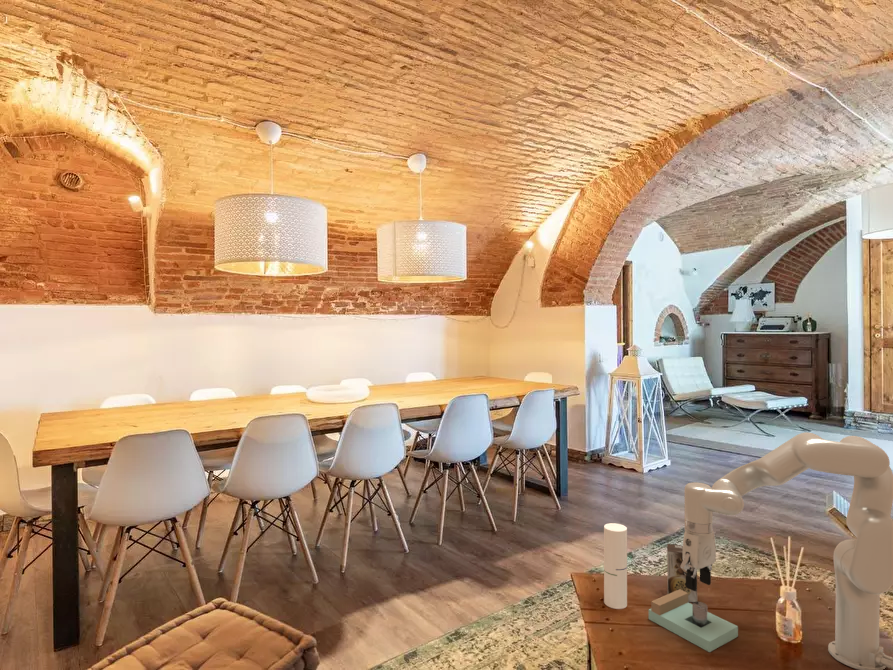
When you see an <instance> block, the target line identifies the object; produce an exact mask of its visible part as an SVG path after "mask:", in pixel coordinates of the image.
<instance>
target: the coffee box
mask: <svg viewBox="0 0 893 670" xmlns="http://www.w3.org/2000/svg"><path fill="white" fill-rule="evenodd" d="M666 558H667V560H666V564H667V577H666V578H667V594H670V593H672V592H674V591H676V590H679V589H680V590H683V591H685V592H687V593H688V603H693V602H698V590H697V591H693V590H691V589H688V588H686V575H685V574H684V572H683V570H682V569H681V567H680V566H681V564H682V562H683V544H682V545H679V544H672V543H667V545H666ZM690 565H692V563H690ZM690 570H691V571H692V570H693V568H691V567H690ZM695 577H696V578H697V579H698V570H697V571H696V575H695Z"/></svg>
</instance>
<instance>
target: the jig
mask: <svg viewBox="0 0 893 670" xmlns="http://www.w3.org/2000/svg"><path fill="white" fill-rule="evenodd" d="M650 604H651V607H650V608H649V609H648V620H649V621H651V622H653V623H654V624H656V625H659V626H660V627H662V628H664V629H666V630H668V631H670V632H671V633H673V634H675V635H677V636H679V637H680V638H682V639H684V640H687V641H688V642H689V643H692V644H693V645H695V646H697V647H699V648H701V649H702V650H704V651H706V652H708V653H711V652H713V651H715V650H716V649H717V648H720V647H722V646H723V645H726V644H727V643H729V642H731V641H733V640H734V639H736V638H737V637H739V626H738V625H736V624H734V623H732V622H730V621H728V620H726V619H723V618H721V617H720V616H717V615H716V614H714V613H711V612H709V611H707V625H706V626H704V627H702V628H700V627H698V626H697V625H695V624H693V623H692V614H693V603H691V602H689V601H688V593H687V592H685V591H683V590H680V589H679V590H676V591H674V592H672V593H670V594H668V593H667V594H665V595H663V596H660V597H659V598H655V599H654V600H651V603H650Z"/></svg>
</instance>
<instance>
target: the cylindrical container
mask: <svg viewBox="0 0 893 670" xmlns="http://www.w3.org/2000/svg"><path fill="white" fill-rule="evenodd" d="M603 603H604V604H605V605H606V606H607V607H609V608H610V609H614V610H615V609H616V610H623V609H625V608H627V606H628V527H627V526H625V525H624V524H621V523H614V522H612V523H611V522H610V523H609V522H608V523H606V524H604V526H603Z"/></svg>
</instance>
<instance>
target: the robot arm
mask: <svg viewBox="0 0 893 670" xmlns="http://www.w3.org/2000/svg"><path fill="white" fill-rule="evenodd" d="M890 465H891V464H890V458H889V456H888V454H887V452H886V451H885V450H883V449H882V447H880V446H878V445H876V444H874V443H873V442H871V441H869V440H867V439H865V438H863V437H861V436H857V435H849V436H845V437H843V438H842V439H841V440H839V441H835V440H829V439H825V438H822V437H821V436H820V435H818V434H815V433H813V432H801V433H799V434H797V435H795V436H793V437H791V438H790V439H789V440H787V441H785V442H784V443H782V444H780V445H779V446H777V447H775V449H772V450H771V451H770V452H768V453H767V454H765V455H763V456H761V457H760V458H757V459H756V460H752V461H750V462H748V463H746V464H743V465H741V466H739V467H737V468H735V469H732V470H731V471H730V472H728V473H726V474H724V475H723V476H722V477H721V478H719V479H718V480H716V481H715V482H714V483H713V484H712V486H710V485H709V484H706V483H704V482H697V481H696V482H688V483H687V484H685V485H684V534H683V540H682V541H683V542H682V546H683V562H682V564H681V566H680V567H681V569H682V570H683V572H684V574H685V575H686V588H688V589H691V590H693V591H697V592H698V577H697V578H696V577H695V575H696V571H697V572H698V570H699V582H701V583H702V584H706V585H707V586H710V585H711V583H712V582H711V581H712V577H711V576H712V570H713V567H712V566H713V564H714V563H716V561H717V556H716V555H717V553H716V549H717V548H716V547H717V546H716V539H715V538H716V537H715V532H714V530H713V518H714V517H713V515H714V514H713V513H717V514H721V515H724V516H730V517H733V516H738V515H739V514H740V513H742V512H743V510H744V507H745V502H744V499H743V497H744V496H745V495H746V494H747V493H750V492H751V491H754V490H755V489H759V488H761V487H767V486H768V487H771V486H772V487H776V486H777V487H778V486H783V485H785V484H786V483H788V482H789V481H791V480H792V479H794V478H795V477H797V476H798V475H800V474H802V473H803V472H806V471H807V470H808V469H809V470H813V471H816V472H819V473H820V472H823V473H828V474H834V475H843V476H849V477H853V482H854V483H853V488H852V489H853V491H852V495H851V499H850V502H849V506H848V510H847V515H846V518H845V519H846V520H845V522H846V526H847V528H848V530H849V531H850V533H852V534H853V536H854V537H856V539H852V538H851V539H850V538H848V539H844V540H842V541H840V542H839V543H838V544H837V545H836V547H835V548H834V550H833V568H834V576H835V578H834V579H835V618H834V619H835V628H834V630H835V633H834V639H835V640H832V641H830V642H829V643H828V645H827V648H828V649H827V650H828V652H829V655H831V656H832V658H834V659H835V660H836V661H838V662H840V663H841V664H843V665H846V667H850V668H853V669H855V670H883V669H885V668H886V669H887V668H888V669H890V670H893V657H892V656H890V655H888V654H886V653H884V646H881V645H880V606H881V605H880V604H881V603H880V602H881V599H880V598H881V594H883V593H886V592H888V591H889V590H890V589H891V588H892V586H893V518H892V517H891V514H892V513H891V512H892V507H893V471H892V468H891V466H890ZM690 563H692V565H690ZM690 567H691V568H693V570H692V571H691V570H690ZM886 669H885V670H886Z"/></svg>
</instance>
